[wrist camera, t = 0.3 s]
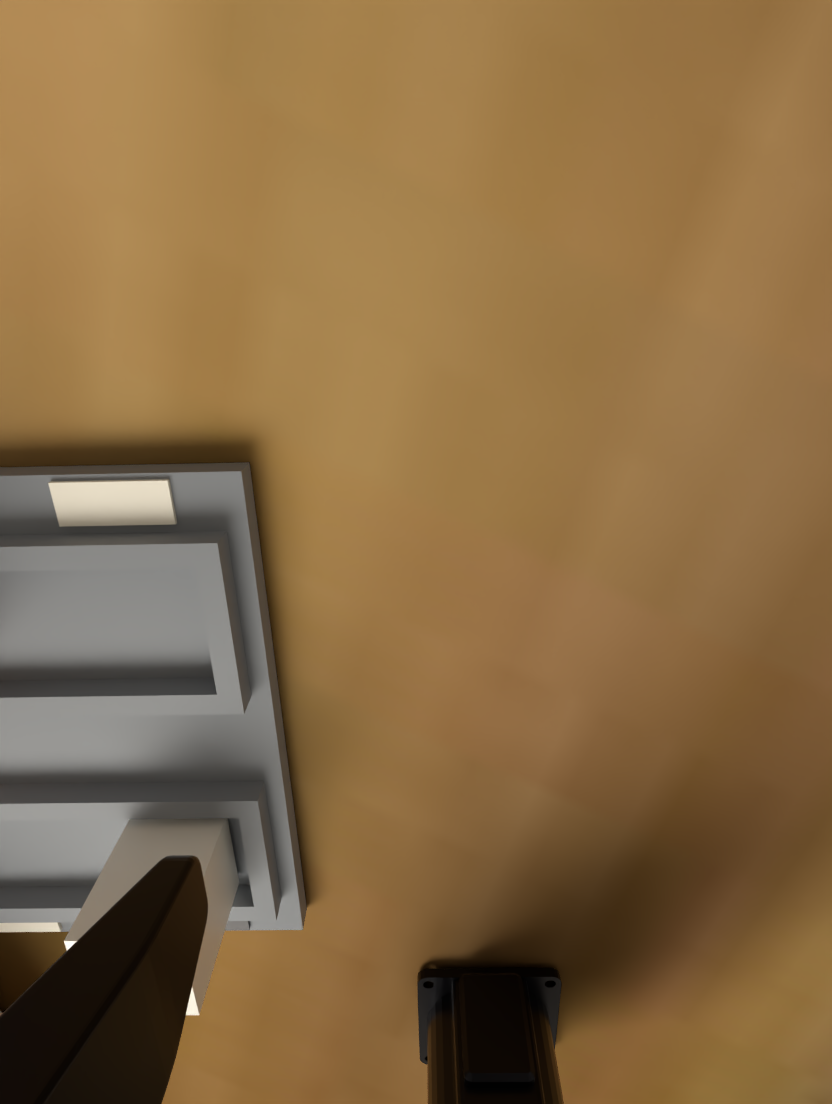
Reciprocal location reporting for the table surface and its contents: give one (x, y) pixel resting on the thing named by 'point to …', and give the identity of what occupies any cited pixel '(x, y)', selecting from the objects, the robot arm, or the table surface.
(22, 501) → the switch board
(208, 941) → the tab
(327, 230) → the table surface
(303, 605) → the table surface
